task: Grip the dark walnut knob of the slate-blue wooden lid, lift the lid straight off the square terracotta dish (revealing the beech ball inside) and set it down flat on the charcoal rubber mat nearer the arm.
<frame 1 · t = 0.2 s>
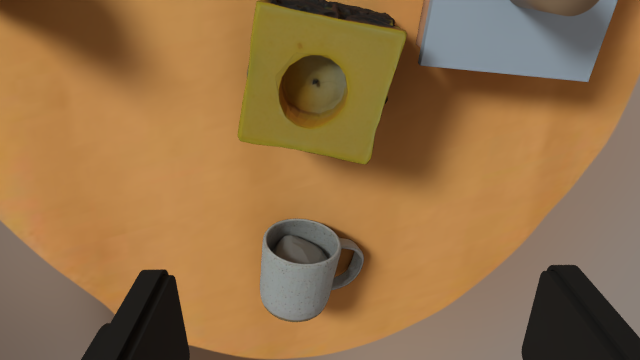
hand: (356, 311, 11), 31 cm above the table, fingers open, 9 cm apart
ceramic mug: (312, 247, 48), on the table
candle: (319, 60, 39), on the table
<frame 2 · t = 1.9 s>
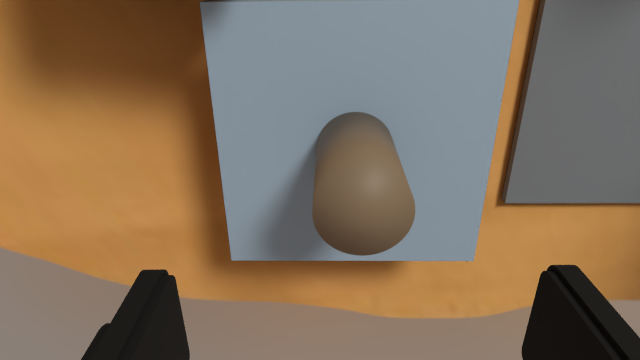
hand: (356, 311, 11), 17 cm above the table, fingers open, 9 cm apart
lid: (353, 140, 22), point 5 cm above the table, touching dish
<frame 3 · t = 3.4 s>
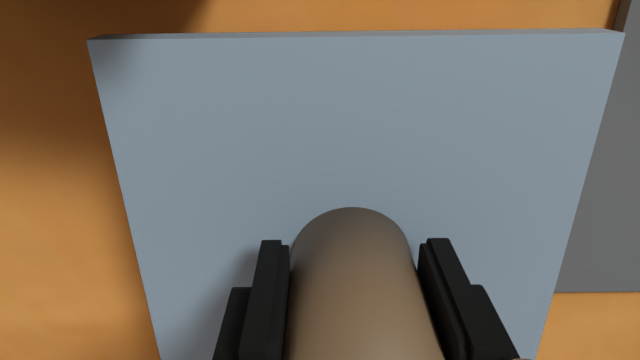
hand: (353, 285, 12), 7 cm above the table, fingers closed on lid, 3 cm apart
lid: (348, 240, 14), point 5 cm above the table, touching dish, gripper
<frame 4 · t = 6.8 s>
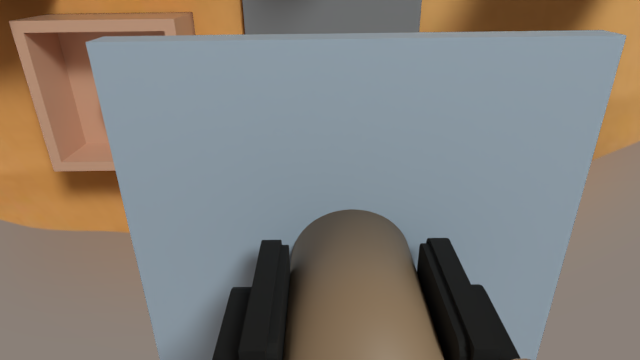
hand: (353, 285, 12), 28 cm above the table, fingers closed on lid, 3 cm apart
mat: (331, 70, 37), on the table
lid: (348, 242, 14), point 26 cm above the table, touching gripper
dish: (134, 85, 38), on the table
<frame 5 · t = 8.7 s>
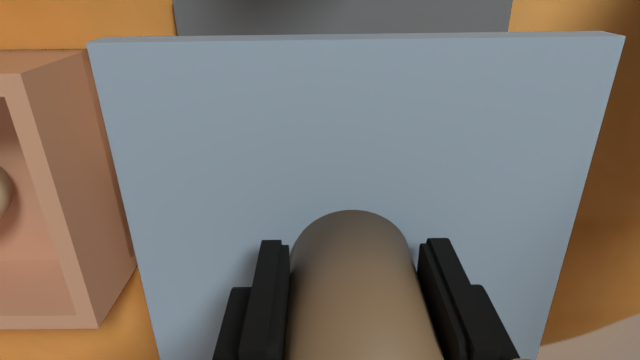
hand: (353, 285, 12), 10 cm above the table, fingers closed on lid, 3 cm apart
mat: (340, 146, 22), on the table
lid: (348, 242, 14), point 8 cm above the table, touching gripper
dish: (2, 169, 22), on the table
when the fingers open (4 cm above the table, at t = 10.2 s): lid drops 1 cm, resting on mat.
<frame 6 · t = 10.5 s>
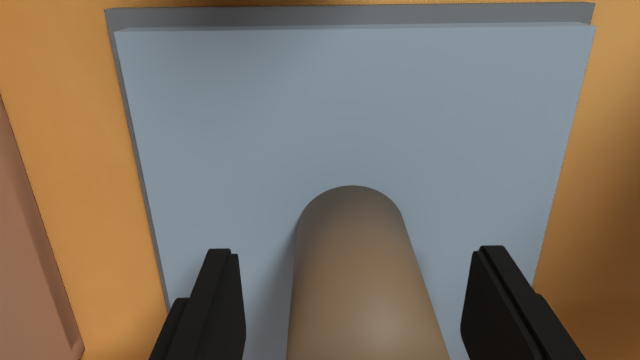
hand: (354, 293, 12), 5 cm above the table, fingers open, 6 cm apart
mat: (344, 210, 16), on the table
lid: (348, 218, 16), point 1 cm above the table, touching mat
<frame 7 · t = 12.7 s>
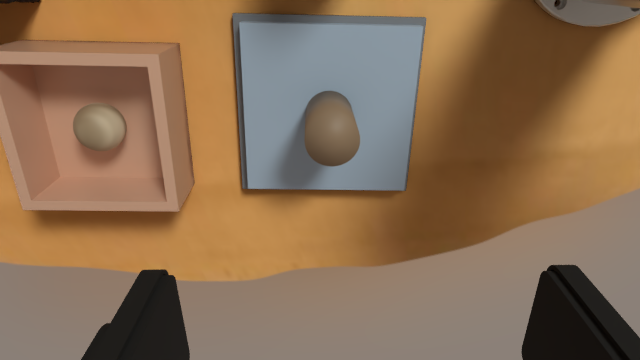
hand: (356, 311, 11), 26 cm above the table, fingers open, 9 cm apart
mat: (326, 108, 35), on the table
ball: (100, 127, 33), point 3 cm above the table, touching dish
lid: (328, 110, 35), point 1 cm above the table, touching mat
dish: (114, 116, 35), on the table
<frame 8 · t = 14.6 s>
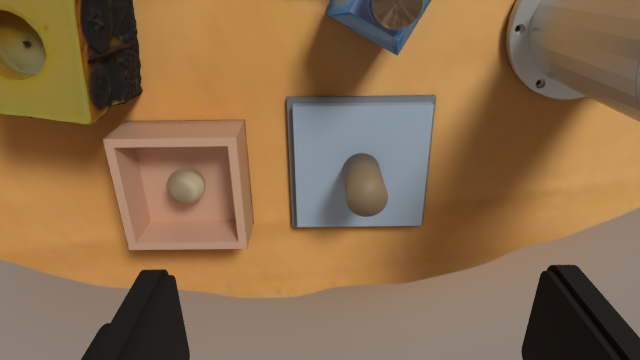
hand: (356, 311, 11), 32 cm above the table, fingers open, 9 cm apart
mat: (358, 163, 45), on the table
ball: (186, 185, 43), point 3 cm above the table, touching dish
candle: (83, 32, 39), on the table
lid: (360, 165, 44), point 1 cm above the table, touching mat
dish: (193, 174, 45), on the table
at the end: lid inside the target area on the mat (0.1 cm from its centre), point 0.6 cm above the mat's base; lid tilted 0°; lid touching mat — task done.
